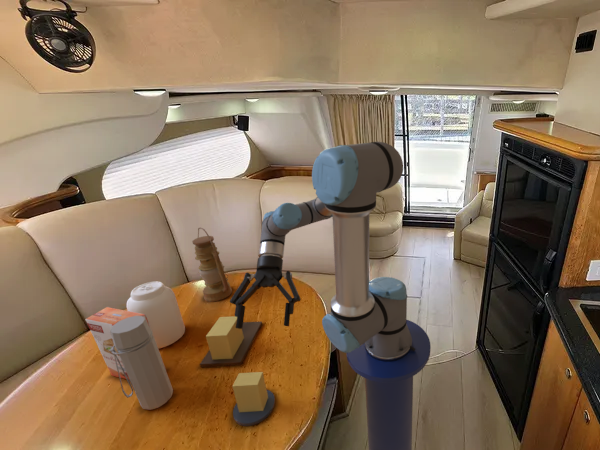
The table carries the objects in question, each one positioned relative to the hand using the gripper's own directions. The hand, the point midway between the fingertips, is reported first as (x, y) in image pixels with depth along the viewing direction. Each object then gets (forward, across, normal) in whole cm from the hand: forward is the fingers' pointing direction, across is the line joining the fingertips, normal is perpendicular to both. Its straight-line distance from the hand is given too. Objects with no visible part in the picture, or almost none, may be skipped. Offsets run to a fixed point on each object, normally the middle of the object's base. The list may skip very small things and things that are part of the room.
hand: (262, 327), depth 92 cm
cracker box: (+11, +37, -8) cm, 39 cm away
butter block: (+5, +14, -12) cm, 19 cm away
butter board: (+3, +14, -16) cm, 21 cm away
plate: (+20, -1, +2) cm, 21 cm away
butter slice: (+20, -1, +2) cm, 20 cm away
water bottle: (+18, +27, -1) cm, 32 cm away
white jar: (0, +39, -19) cm, 44 cm away
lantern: (-18, +33, -37) cm, 53 cm away
